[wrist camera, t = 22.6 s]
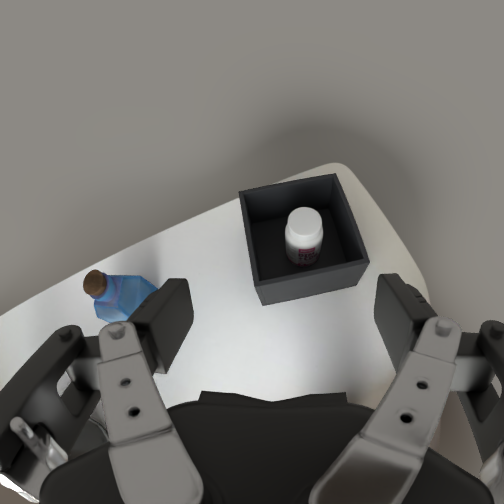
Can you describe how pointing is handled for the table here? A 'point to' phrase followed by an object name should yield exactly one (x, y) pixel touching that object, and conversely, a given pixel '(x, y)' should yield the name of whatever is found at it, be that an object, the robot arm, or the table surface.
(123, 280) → the perfume bottle
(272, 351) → the table surface
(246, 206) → the open box
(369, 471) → the robot arm
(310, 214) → the pill bottle
